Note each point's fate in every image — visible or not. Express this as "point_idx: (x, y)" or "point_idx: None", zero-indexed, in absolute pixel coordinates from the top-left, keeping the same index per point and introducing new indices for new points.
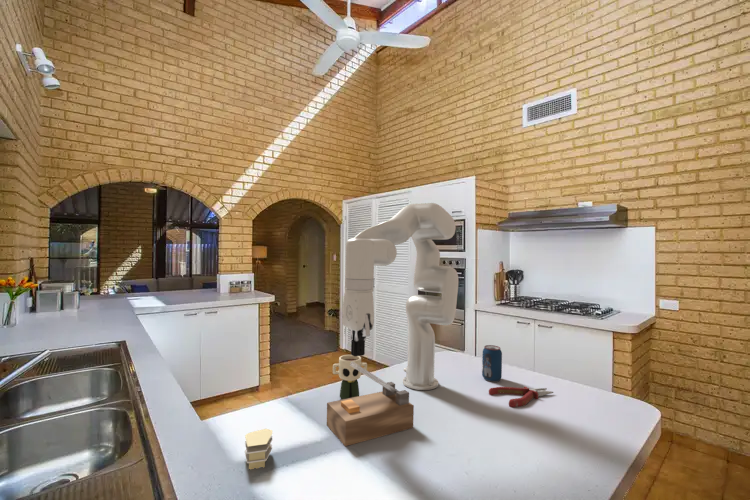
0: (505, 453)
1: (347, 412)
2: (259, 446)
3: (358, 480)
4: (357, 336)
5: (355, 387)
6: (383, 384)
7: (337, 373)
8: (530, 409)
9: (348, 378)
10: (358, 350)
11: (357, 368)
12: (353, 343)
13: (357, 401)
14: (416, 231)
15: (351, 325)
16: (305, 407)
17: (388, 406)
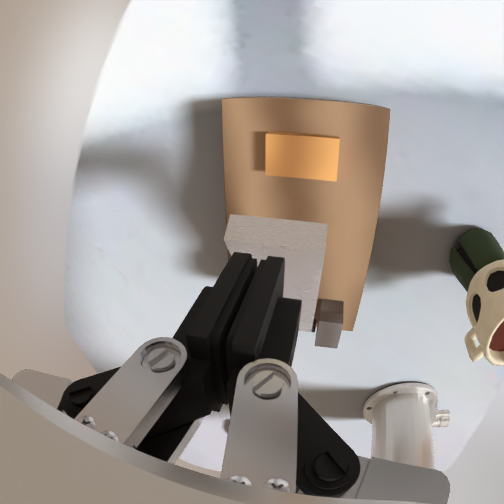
0: (128, 323)
1: (277, 130)
2: None
3: (126, 80)
4: (116, 378)
5: (463, 278)
6: None
7: None
8: (218, 424)
9: (482, 273)
10: (201, 300)
11: (228, 224)
12: (206, 317)
13: (340, 205)
14: None
15: (11, 453)
16: (500, 119)
17: None
